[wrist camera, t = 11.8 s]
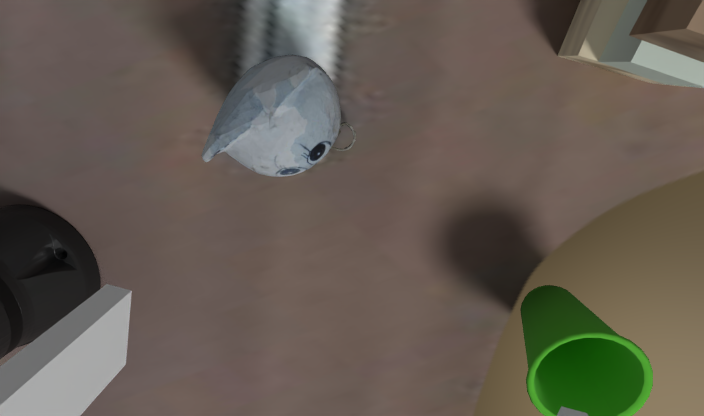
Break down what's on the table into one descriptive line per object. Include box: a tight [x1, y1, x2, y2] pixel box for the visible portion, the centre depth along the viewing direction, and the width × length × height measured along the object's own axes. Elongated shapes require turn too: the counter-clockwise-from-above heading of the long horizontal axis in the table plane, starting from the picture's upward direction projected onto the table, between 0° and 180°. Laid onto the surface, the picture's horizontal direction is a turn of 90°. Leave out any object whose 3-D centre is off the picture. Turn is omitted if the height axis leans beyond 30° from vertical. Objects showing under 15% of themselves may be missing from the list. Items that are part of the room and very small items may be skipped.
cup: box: [521, 285, 653, 416], centre depth 38 cm, size 9×9×11 cm
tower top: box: [598, 0, 704, 88], centre depth 28 cm, size 5×8×5 cm, turn 162°
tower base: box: [558, 0, 686, 87], centre depth 33 cm, size 8×8×5 cm
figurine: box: [202, 55, 356, 176], centre depth 33 cm, size 10×9×15 cm
